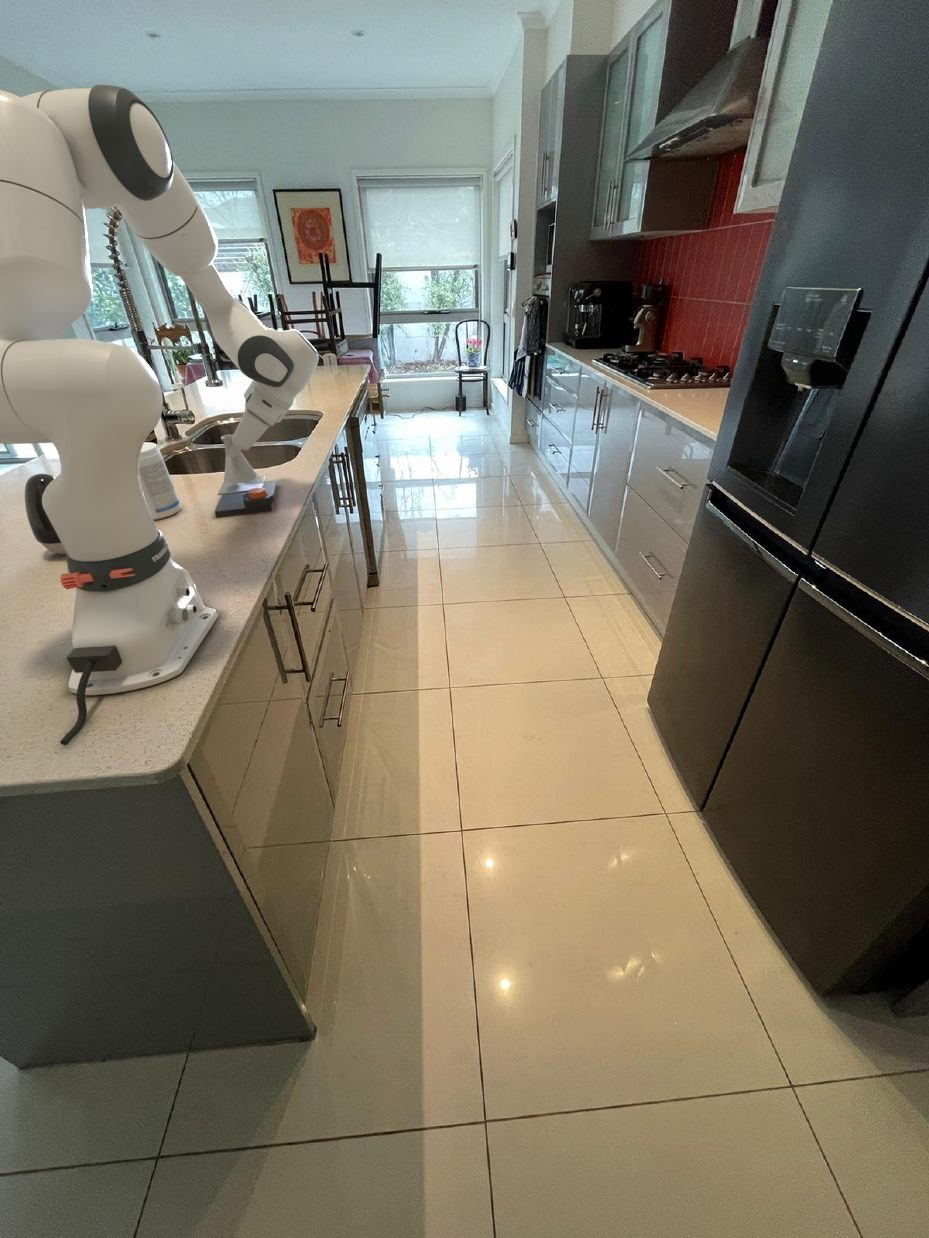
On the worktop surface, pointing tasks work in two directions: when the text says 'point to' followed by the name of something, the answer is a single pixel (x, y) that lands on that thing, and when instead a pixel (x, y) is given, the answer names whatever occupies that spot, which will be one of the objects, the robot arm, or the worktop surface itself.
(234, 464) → the flask
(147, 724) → the worktop surface
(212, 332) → the robot arm
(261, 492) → the button
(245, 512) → the scale
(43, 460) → the worktop surface
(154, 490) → the supplement tub
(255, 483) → the weighing plate
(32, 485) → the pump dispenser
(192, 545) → the worktop surface
